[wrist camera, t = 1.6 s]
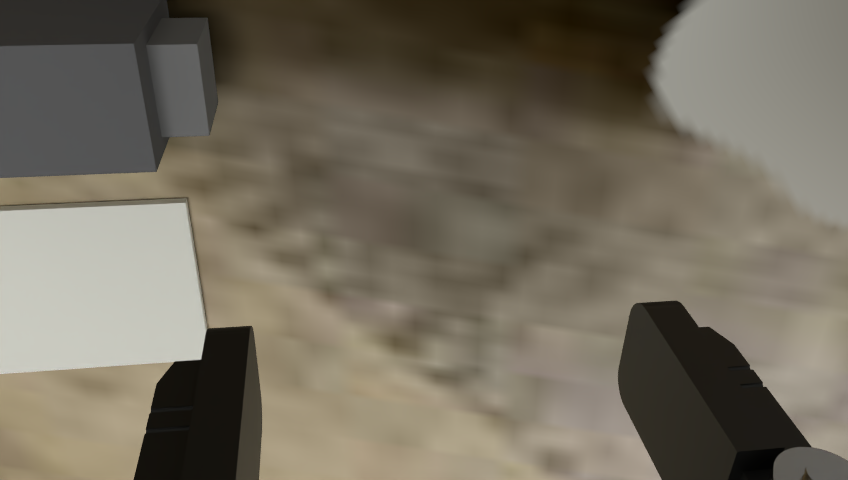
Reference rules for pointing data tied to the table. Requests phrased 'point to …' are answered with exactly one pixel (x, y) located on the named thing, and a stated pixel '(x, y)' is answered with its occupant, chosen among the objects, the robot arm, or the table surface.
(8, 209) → the pad
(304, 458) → the table surface
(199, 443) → the robot arm
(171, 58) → the plug
